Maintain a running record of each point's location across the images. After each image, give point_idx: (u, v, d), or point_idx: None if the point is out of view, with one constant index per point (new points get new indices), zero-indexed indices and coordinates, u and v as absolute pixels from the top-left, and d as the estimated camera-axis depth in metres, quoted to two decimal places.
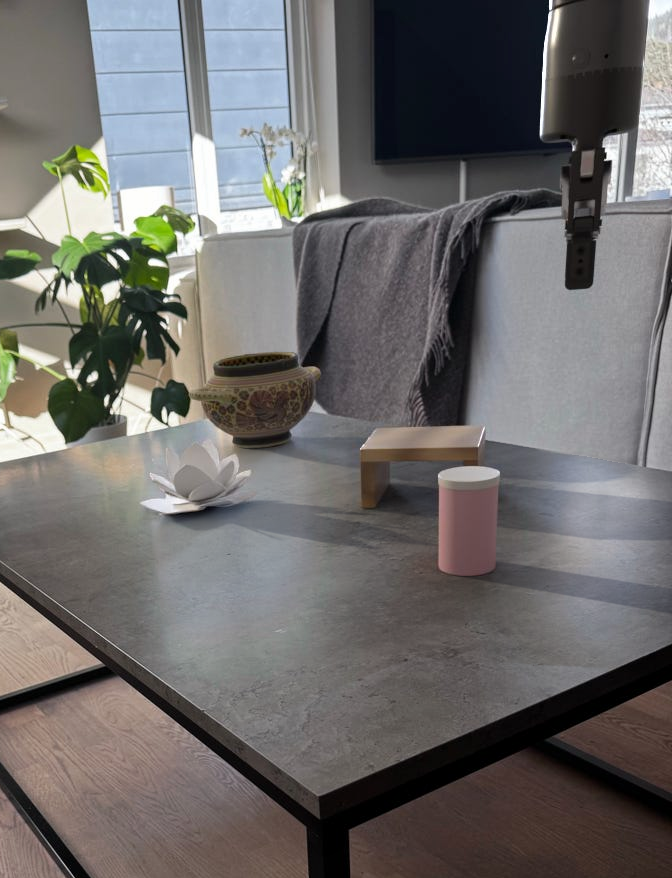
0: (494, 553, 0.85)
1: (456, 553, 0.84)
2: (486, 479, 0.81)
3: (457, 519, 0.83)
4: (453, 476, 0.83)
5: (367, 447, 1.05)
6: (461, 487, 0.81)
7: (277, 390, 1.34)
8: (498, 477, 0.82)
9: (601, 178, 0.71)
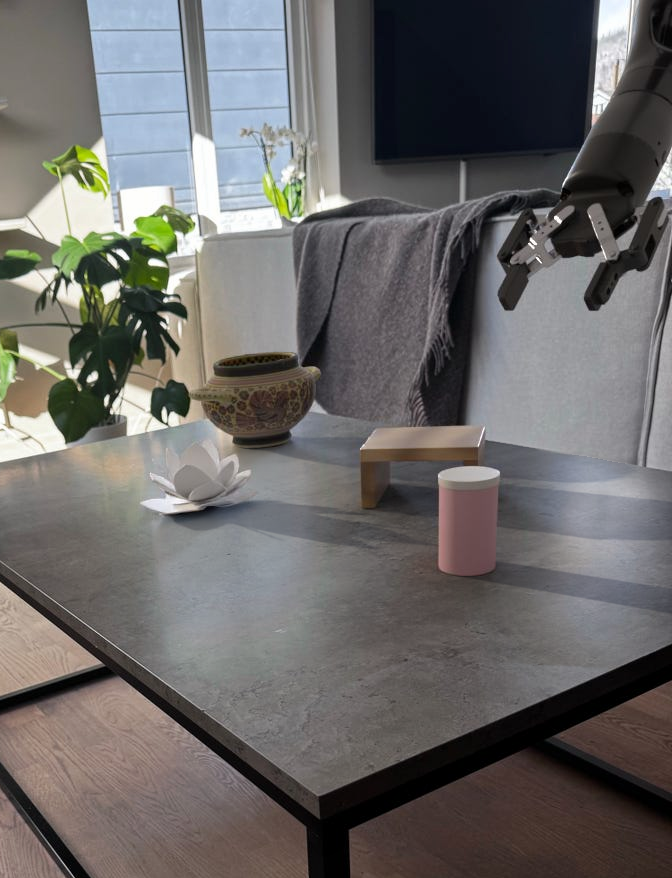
0: (494, 553, 0.85)
1: (456, 553, 0.84)
2: (486, 479, 0.81)
3: (457, 519, 0.83)
4: (453, 476, 0.83)
5: (367, 447, 1.05)
6: (461, 487, 0.81)
7: (277, 389, 1.34)
8: (498, 477, 0.82)
9: (513, 227, 0.89)
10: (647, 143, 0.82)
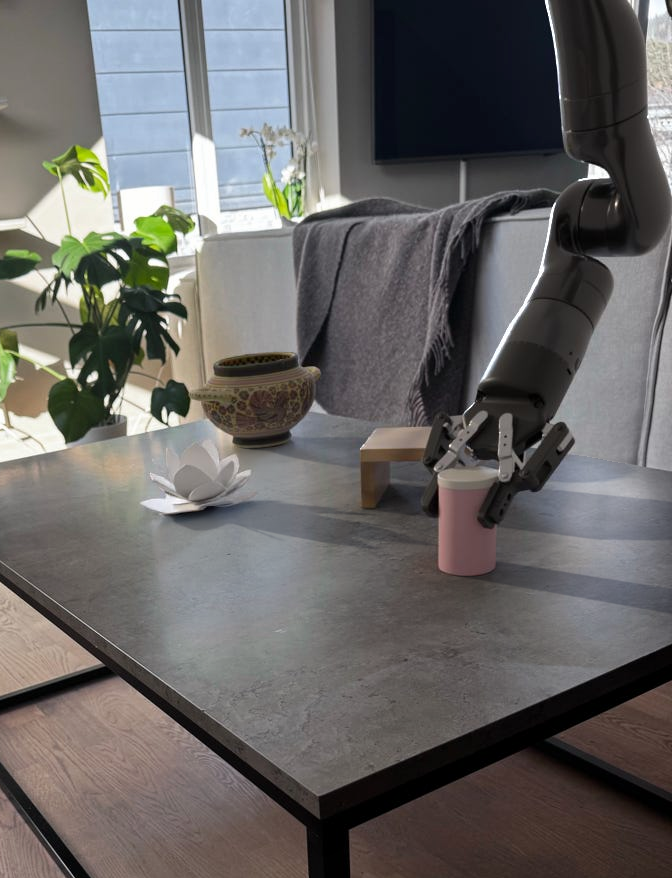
0: (494, 553, 0.85)
1: (456, 553, 0.84)
2: (486, 479, 0.81)
3: (457, 519, 0.83)
4: (453, 476, 0.83)
5: (367, 447, 1.05)
6: (461, 487, 0.81)
7: (277, 389, 1.34)
8: (498, 477, 0.82)
9: (431, 431, 0.89)
10: (558, 354, 0.82)
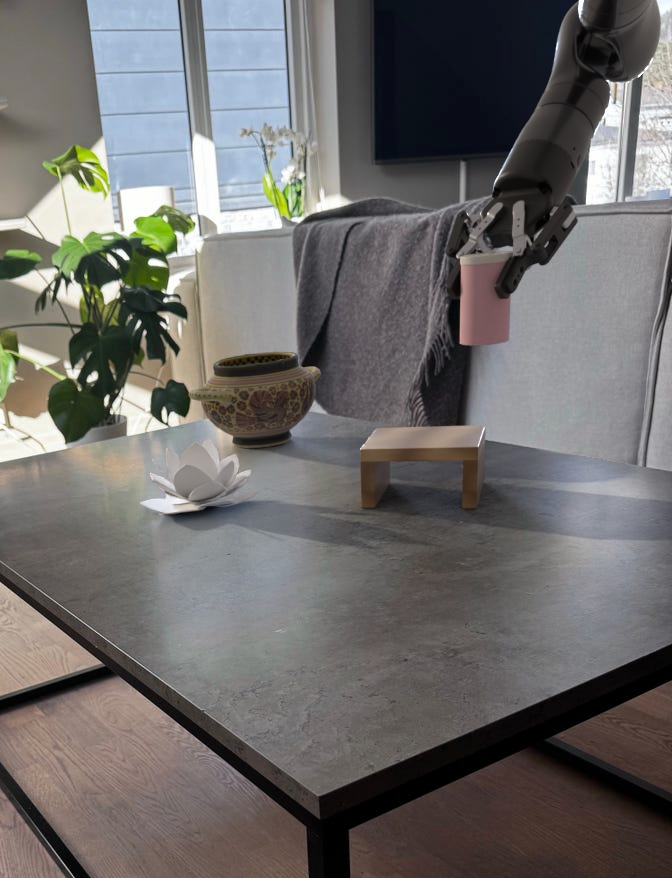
0: (508, 325, 0.99)
1: (475, 325, 0.98)
2: (502, 253, 0.95)
3: (477, 292, 0.97)
4: (473, 255, 0.97)
5: (367, 447, 1.05)
6: (480, 261, 0.95)
7: (277, 389, 1.34)
8: (512, 254, 0.96)
9: (453, 228, 1.03)
10: (563, 148, 0.96)
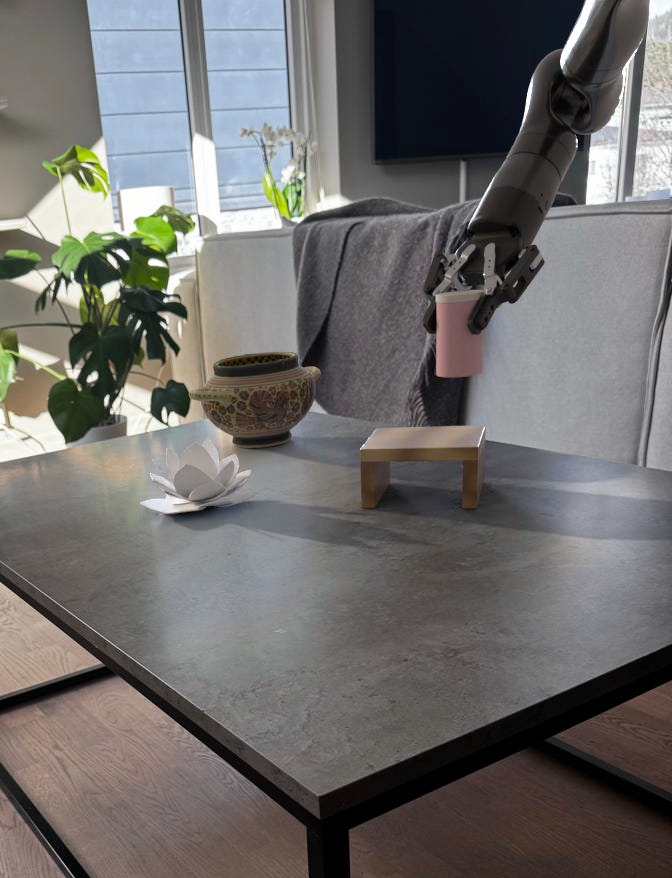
0: (481, 359, 1.06)
1: (450, 358, 1.05)
2: (473, 293, 1.02)
3: (451, 328, 1.04)
4: (447, 294, 1.04)
5: (367, 447, 1.05)
6: (454, 300, 1.02)
7: (277, 389, 1.34)
8: (483, 293, 1.03)
9: (430, 267, 1.09)
10: (531, 195, 1.03)
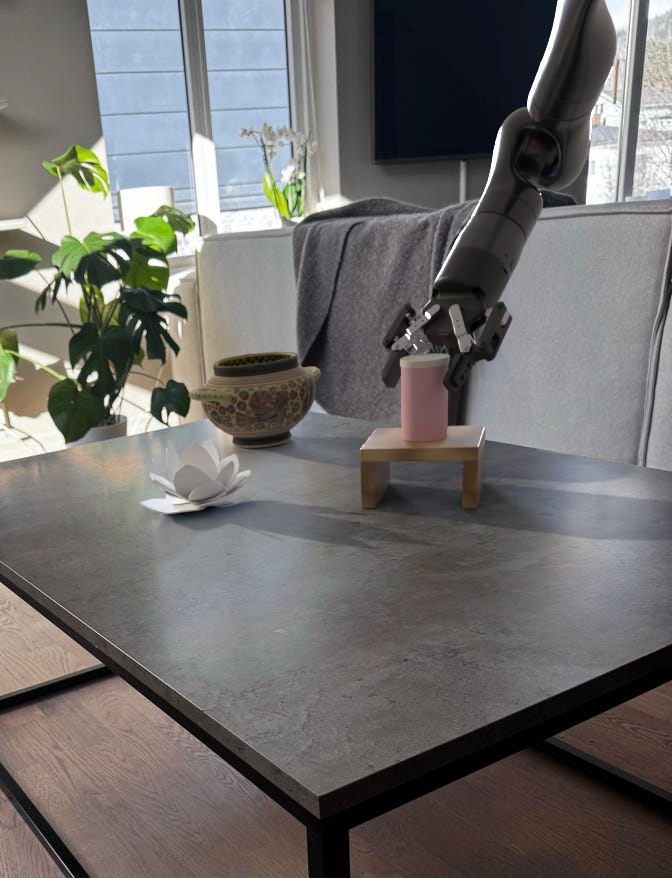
0: (446, 423, 1.05)
1: (414, 423, 1.04)
2: (437, 359, 1.01)
3: (415, 394, 1.03)
4: (411, 359, 1.03)
5: (367, 447, 1.05)
6: (417, 366, 1.01)
7: (277, 389, 1.34)
8: (447, 358, 1.02)
9: (396, 318, 1.09)
10: (496, 256, 1.02)
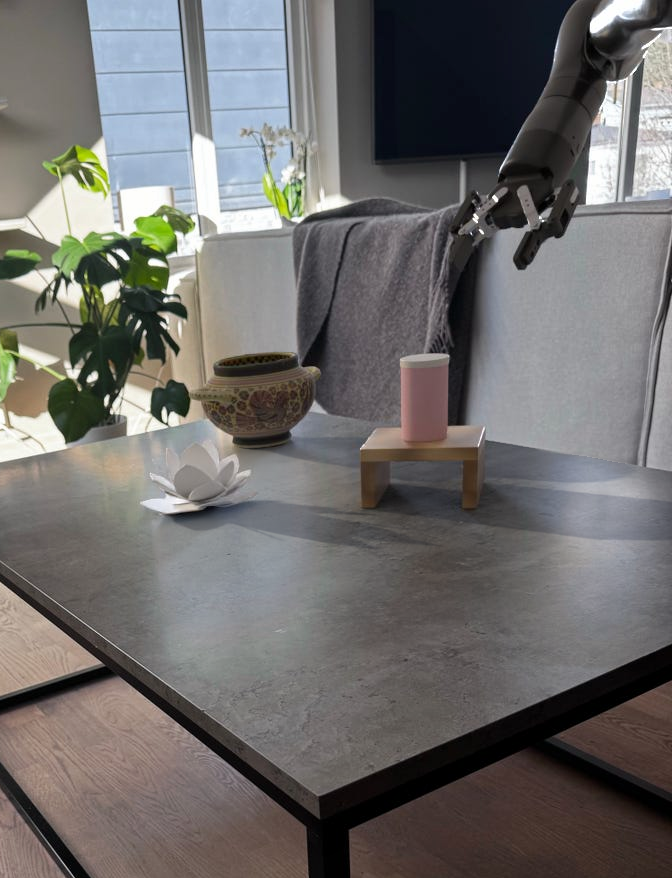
0: (446, 423, 1.05)
1: (414, 423, 1.04)
2: (437, 359, 1.01)
3: (415, 394, 1.03)
4: (411, 359, 1.03)
5: (367, 447, 1.05)
6: (417, 366, 1.01)
7: (277, 389, 1.34)
8: (447, 358, 1.02)
9: (461, 206, 1.11)
10: (563, 137, 1.04)
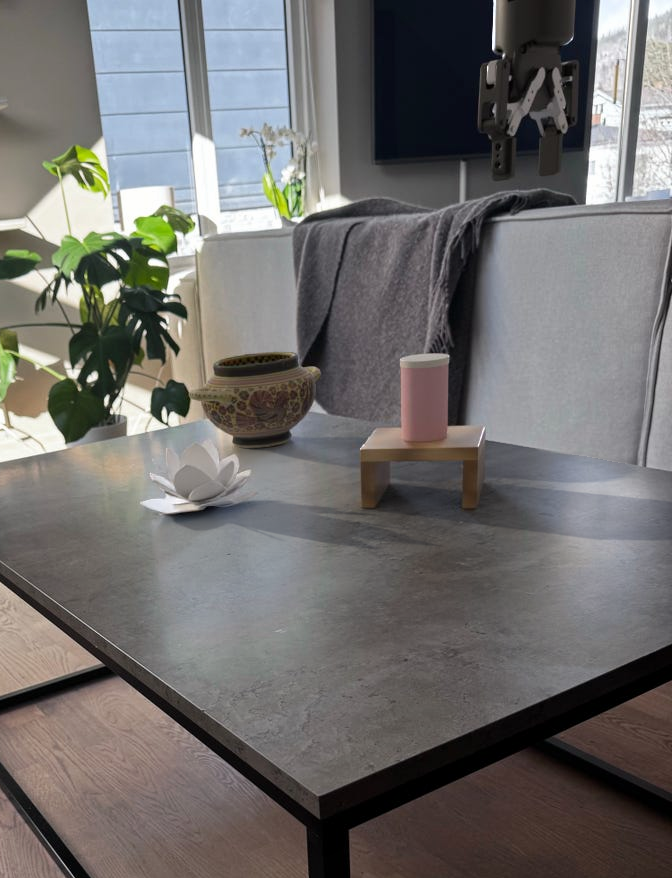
0: (446, 423, 1.05)
1: (414, 423, 1.04)
2: (437, 359, 1.01)
3: (415, 394, 1.03)
4: (411, 359, 1.03)
5: (367, 447, 1.05)
6: (417, 366, 1.01)
7: (277, 389, 1.34)
8: (447, 358, 1.02)
9: None
10: None
